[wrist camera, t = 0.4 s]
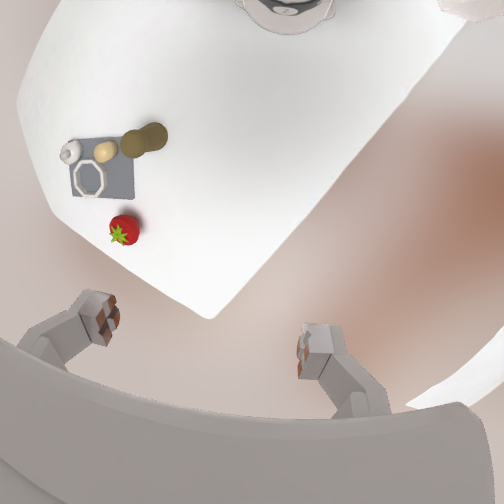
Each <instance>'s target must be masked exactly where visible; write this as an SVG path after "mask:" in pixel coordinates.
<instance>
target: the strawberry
mask: <svg viewBox="0 0 504 504" xmlns="http://www.w3.org/2000/svg"><path fill="white" fill-rule="evenodd" d="M109 227H110V231H111V233H109V234H110V235H112V236H113V237H114V238H113V239H112V240H111V241H112V242H113V241H116V240H117V241H118V242H119V243H121V244H122V245H123V246H124V245H132V244H134V243H136V242H137V240H138V237H139V233H140V231H139V226H138V223H137V221H136V219H135V218H133V217H131V216H127V215H119V216H116V217H114V218H113V219H112V220H111V222H110V226H109Z"/></svg>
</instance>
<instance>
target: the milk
mask: <svg viewBox="0 0 504 504" xmlns="http://www.w3.org/2000/svg"><path fill="white" fill-rule="evenodd" d="M438 3H439V6H440V9H441V11H443V12H446V13H450V14H453V15H456V16H459V17H462V18H465V19H468V20H470V21H473V22H476V23H477V22H481V21H484V20H488V19H492V18H496V17H500V16H504V0H438Z"/></svg>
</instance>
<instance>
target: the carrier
mask: <svg viewBox="0 0 504 504" xmlns="http://www.w3.org/2000/svg"><path fill="white" fill-rule="evenodd" d="M121 138H122V137H111V138H94V139H81V140H71V141H68V143H67V144H65V145H64V146H63V147H62V149H61V153H60V159H61V160H63V162H64V163H65V164H68V165H69V166H70V177H71V186H72V194H73V196H78V197H84V198H113V199H128V200H133V199H134V198H135V195H134V173H133V158H128V157H126V156H125V155H124V154H123V153H122V151H121V148H120V141H121Z"/></svg>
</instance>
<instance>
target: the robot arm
mask: <svg viewBox="0 0 504 504" xmlns="http://www.w3.org/2000/svg"><path fill="white" fill-rule="evenodd" d="M235 3H236V4H237V5H238V6H239V7H241V8H243V9H244V10H246V11H247V12H248V13H249V15H250V16H251V18H252V19H253V20H254V21H255V22H256V23H257V24H258V25H259V26H261V27H262V28H264V29H266V30H268V31H271V32H274V33H278V34H287V35H291V34H299V33H303V32H306V31H308V30H310V29H312V28H313V27H315V26H316V25H317V24H318V23H319V22H321V21H322V20H326V19H329V18H332V17H334V15H335V6H334V0H235ZM116 302H117V301H116V298H115V296H114V295H111V294H107V293H103V292H99V291H95V290H91V289H85V290H83V291H82V293H81V294H80V295H79V297H78V298H77V299H76V301H75V302H74V303H73V305H72V306H71V307H70V309H69V310H68V311H67V310H65V311H63V312H61V313H59V314H57V315H55V316H53V317H51V318H49V319H47V320H45V321H43V322H41V323H39V324H37V325H35V326H33V327H31V328H30V329H28V331H27V332H26V334H25V335H24V336H23V338H22V339H21V340H20V342H19V343H18V345H17V346H14V345H12V344H10V343H9V342H7V341H5V340H4V339H2V338H0V504H495V493H494V477H493V467H492V461H491V454H490V450H489V445H488V440H487V436H486V432H485V429H484V426H483V423H482V421H481V419H480V418H479V417H478V416H477V415H476V414H475V413H474V412H472V411H471V410H470V409H469V408H468V407H467V406H466V405H464V404H463V403H461V402H452V403H448V404H444V405H439V406H435V407H430V408H425V409H420V410H415V411H409V412H403V413H396V414H392V413H391V409H390V404H389V400H388V396H387V392H386V390H385V388H384V387H383V386H382V385H381V384H380V383H379V382H378V381H377V380H376V379H375V378H373V376H372V375H371V374H370V373H369V372H368V371H367V370H366V369H365V368H363V366H362V365H361V364H360V363H359V362H358V361H357V360H356V359H355V358H354V357H353V356H351V355H348V354H347V350H346V346H345V341H344V337H343V333H342V329H341V326H340V325H333V324H316V323H304V325H303V328H302V335H301V336H300V337H299V340H298V345H297V358H298V359H299V360H300V361H299V363H298V378H299V379H309V380H318V382H319V384H320V385H321V386H322V388H323V389H324V391H325V392H326V393H327V395H328V396H329V398H330V399H331V400H332V402H333V403H334V405H335V406H336V407H337V409H338V411H337V412H336V413H335V414H334V416H333V417H332V418H331V419H276V418H261V417H250V416H240V415H231V414H223V413H217V412H210V411H204V410H198V409H193V408H187V407H182V406H178V405H173V404H168V403H164V402H160V401H156V400H151V399H148V398H144V397H140V396H136V395H133V394H129V393H126V392H123V391H120V390H116V389H113V388H110V387H107V386H104V385H101V384H99V383H96V382H93V381H90V380H87V379H85V378H82V377H80V376H77V375H75V374H72V373H70V372H69V371H68V370H67V368H66V367H65V365H64V364H65V363H66V362H68V361H69V360H70V359H72V358H73V357H74V356H76V355H77V354H78V353H79V352H81V351H82V350H84V349H85V348H86V347H88V346H89V345H90V344H91V343H94V344H98V345H102V346H106V347H107V345H108V343H109V342H110V340H111V338H112V331H114V330H115V329H117V327H118V324H119V321H120V312H119V309H118V308H117V307H116V306H115V304H116Z"/></svg>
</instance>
